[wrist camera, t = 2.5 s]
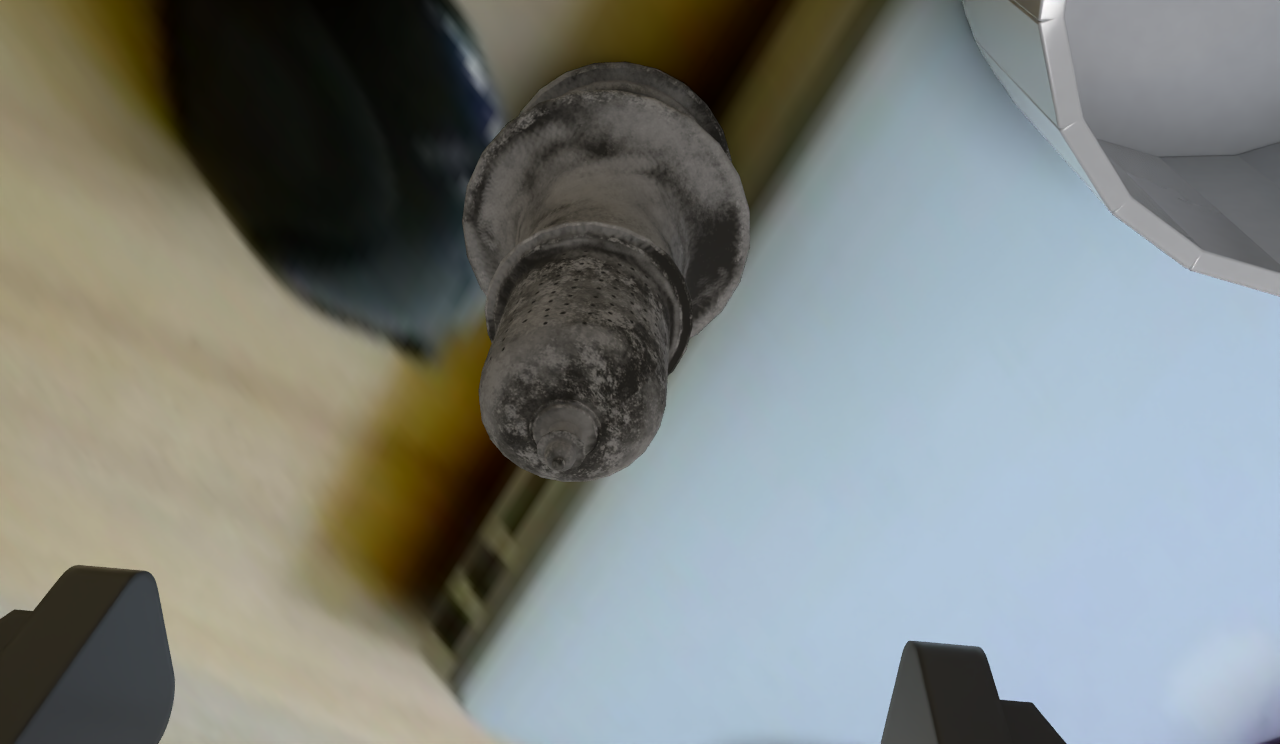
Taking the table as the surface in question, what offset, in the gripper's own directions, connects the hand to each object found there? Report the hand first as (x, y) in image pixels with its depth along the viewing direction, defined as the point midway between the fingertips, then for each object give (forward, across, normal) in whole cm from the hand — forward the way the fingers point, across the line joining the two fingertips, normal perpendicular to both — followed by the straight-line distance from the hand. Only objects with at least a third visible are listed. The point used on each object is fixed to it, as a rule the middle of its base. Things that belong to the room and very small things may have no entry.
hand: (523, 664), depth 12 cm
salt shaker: (+16, 0, 0) cm, 16 cm away
